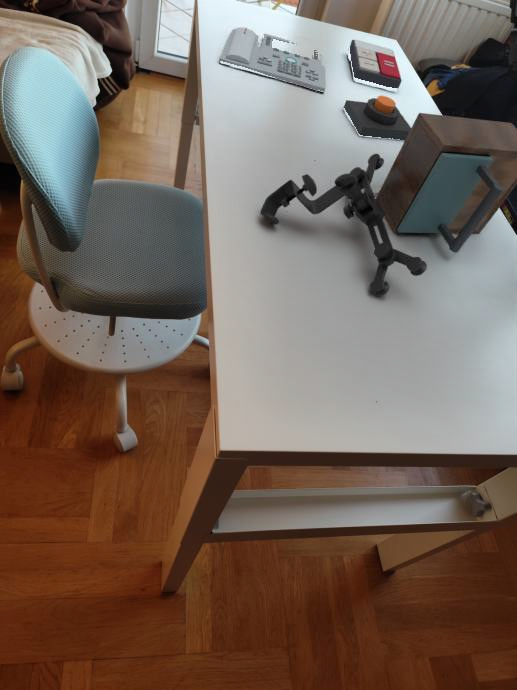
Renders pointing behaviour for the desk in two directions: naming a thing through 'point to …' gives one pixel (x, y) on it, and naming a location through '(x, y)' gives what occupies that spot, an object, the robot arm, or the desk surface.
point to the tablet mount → (350, 214)
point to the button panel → (374, 64)
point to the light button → (384, 104)
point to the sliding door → (451, 197)
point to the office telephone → (273, 59)
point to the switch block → (377, 120)
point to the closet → (454, 138)
